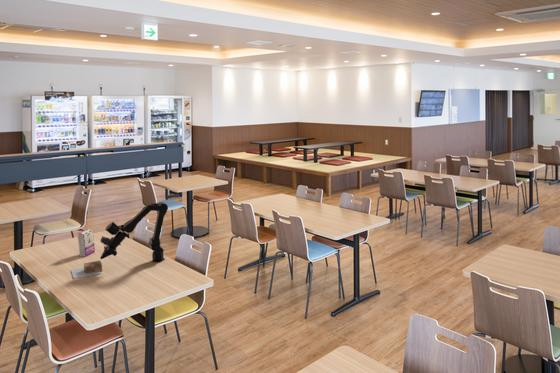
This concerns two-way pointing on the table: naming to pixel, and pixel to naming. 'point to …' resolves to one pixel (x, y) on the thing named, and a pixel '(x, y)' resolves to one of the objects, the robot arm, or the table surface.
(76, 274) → the slate board
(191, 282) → the table surface
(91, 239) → the candy bar box
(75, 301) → the table surface
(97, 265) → the walnut block
